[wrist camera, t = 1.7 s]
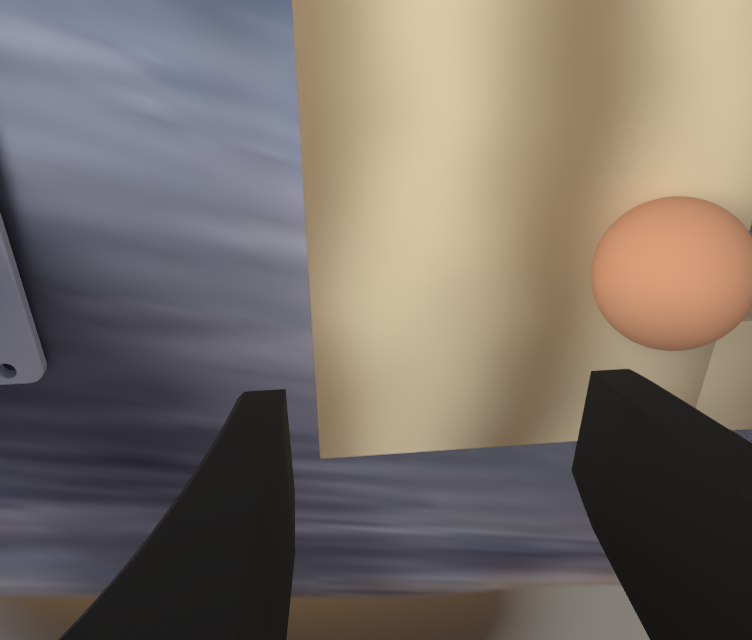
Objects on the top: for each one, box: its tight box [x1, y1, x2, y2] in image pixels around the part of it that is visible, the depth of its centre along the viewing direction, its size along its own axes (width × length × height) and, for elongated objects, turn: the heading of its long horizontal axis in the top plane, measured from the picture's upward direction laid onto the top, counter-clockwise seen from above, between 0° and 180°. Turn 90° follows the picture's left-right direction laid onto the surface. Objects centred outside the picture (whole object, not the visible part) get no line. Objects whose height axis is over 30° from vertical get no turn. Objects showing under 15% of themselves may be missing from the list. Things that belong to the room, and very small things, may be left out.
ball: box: [591, 196, 752, 351], centre depth 15 cm, size 4×4×4 cm
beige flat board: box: [292, 0, 752, 459], centre depth 18 cm, size 18×13×2 cm
